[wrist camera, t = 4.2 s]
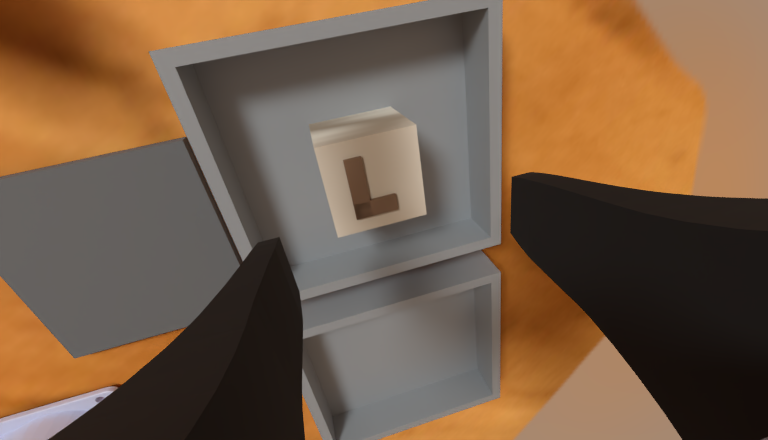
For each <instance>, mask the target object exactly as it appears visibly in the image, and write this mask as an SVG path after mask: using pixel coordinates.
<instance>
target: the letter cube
mask: <svg viewBox="0 0 768 440" xmlns="http://www.w3.org/2000/svg"><path fill="white" fill-rule="evenodd" d="M309 128H310V133H311V138H312V142H313V147H314V151H315V154H316V158H317V162H318V166H319V169H320V173H321V177H322V180H323V184H324V188H325V192H326V195H327V199H328V203H329V206H330V210H331V214H332V217H333V221H334V225H335V229H336V232H337V236H338V238H339V237H343V236H347V235H351V234H354V233H358V232H362V231H366V230H370V229H373V228H377V227H381V226H385V225H389V224H392V223H396V222H400V221H404V220H407V219H411V218H415V217H419V216H423V215H426V214H427V213H426V205H425V196H424V187H423V179H422V170H421V161H420V153H419V144H418V135H417V127H416V124H415V123H413V122H412V121H410V120H409V119H408V118H406V117H405V116H403V115H402V114H400V113H399V112H398V111H396V110H395V109H393V108H392V107H391V106H390V107H386V108H381V109H376V110H372V111H367V112H363V113H358V114H354V115H349V116H345V117H340V118H336V119H331V120H326V121H322V122H317V123H313V124H309Z"/></svg>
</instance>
